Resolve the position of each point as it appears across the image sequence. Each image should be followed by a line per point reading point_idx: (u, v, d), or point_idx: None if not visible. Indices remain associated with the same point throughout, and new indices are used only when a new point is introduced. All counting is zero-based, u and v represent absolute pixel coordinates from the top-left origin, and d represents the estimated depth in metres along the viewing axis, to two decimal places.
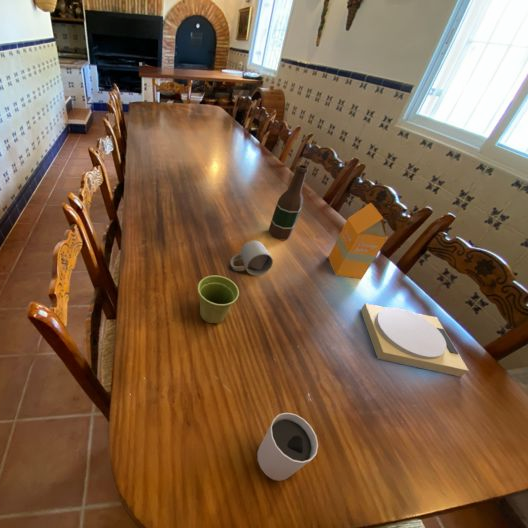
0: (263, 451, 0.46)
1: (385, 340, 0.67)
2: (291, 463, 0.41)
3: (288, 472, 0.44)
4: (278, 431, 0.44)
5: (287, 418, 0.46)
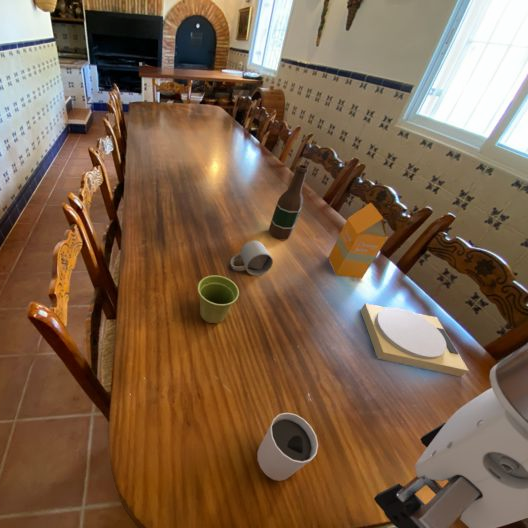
0: (263, 451, 0.46)
1: (385, 340, 0.67)
2: (291, 463, 0.41)
3: (288, 472, 0.44)
4: (278, 431, 0.44)
5: (287, 418, 0.46)
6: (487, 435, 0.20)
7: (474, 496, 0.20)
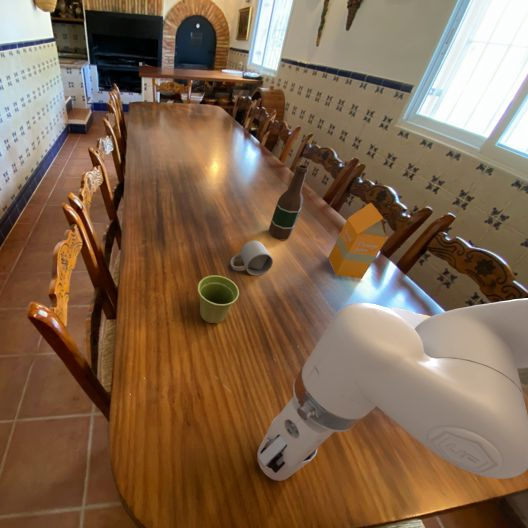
0: None
1: None
2: None
3: (288, 472, 0.44)
4: None
5: None
6: (285, 410, 0.36)
7: (283, 446, 0.37)
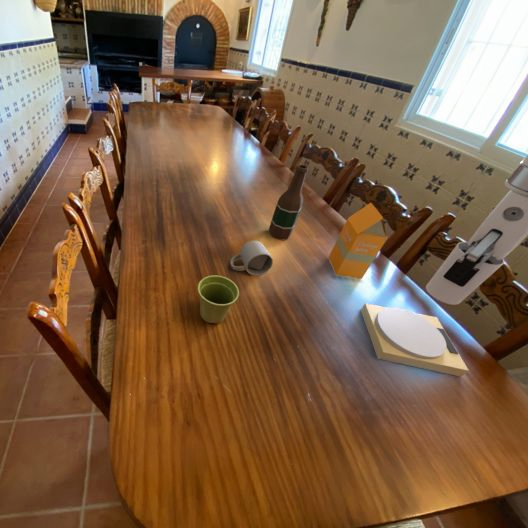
0: (442, 277, 0.54)
1: (385, 340, 0.67)
2: (484, 269, 0.49)
3: (472, 286, 0.52)
4: None
5: (463, 248, 0.54)
6: (504, 202, 0.44)
7: (496, 238, 0.45)
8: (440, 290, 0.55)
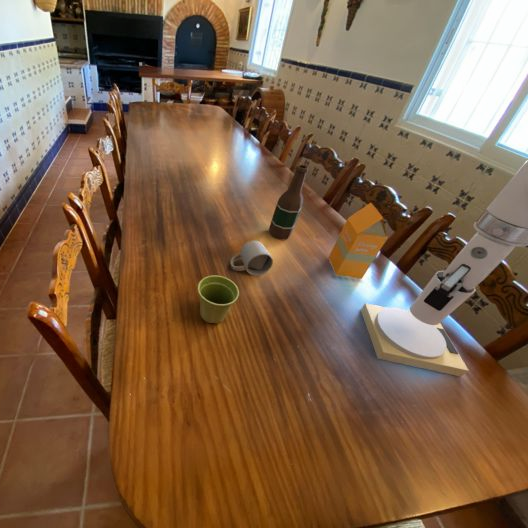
0: (423, 301, 0.62)
1: (385, 340, 0.67)
2: (458, 296, 0.57)
3: (448, 310, 0.59)
4: None
5: (442, 276, 0.62)
6: (471, 242, 0.51)
7: (465, 272, 0.53)
8: (421, 312, 0.63)
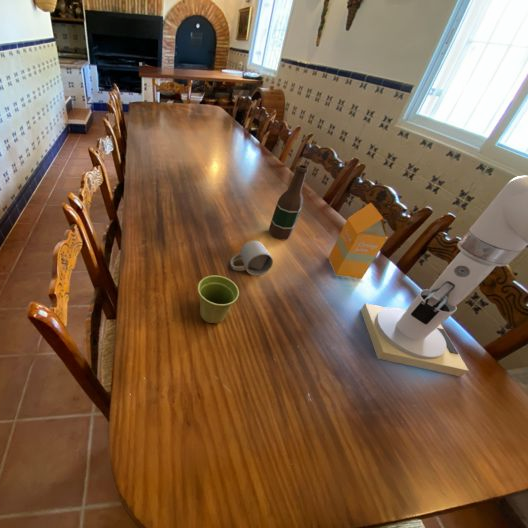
0: (408, 318, 0.65)
1: (385, 340, 0.67)
2: (439, 315, 0.60)
3: (431, 327, 0.63)
4: (423, 300, 0.64)
5: (426, 294, 0.65)
6: (455, 261, 0.54)
7: (451, 286, 0.55)
8: (407, 328, 0.66)
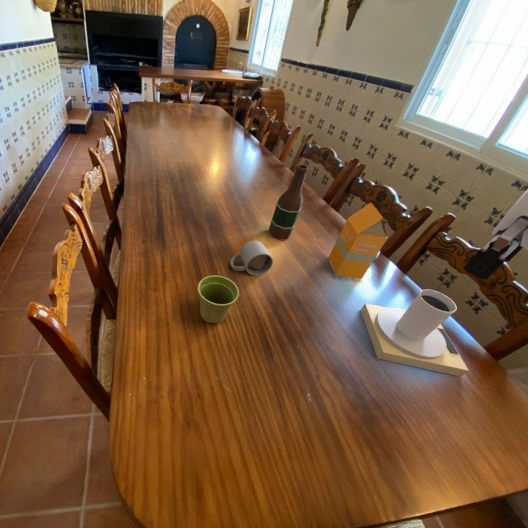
0: (408, 318, 0.65)
1: (385, 340, 0.67)
2: (439, 315, 0.60)
3: (431, 327, 0.63)
4: None
5: (426, 294, 0.65)
6: None
7: None
8: (407, 328, 0.66)
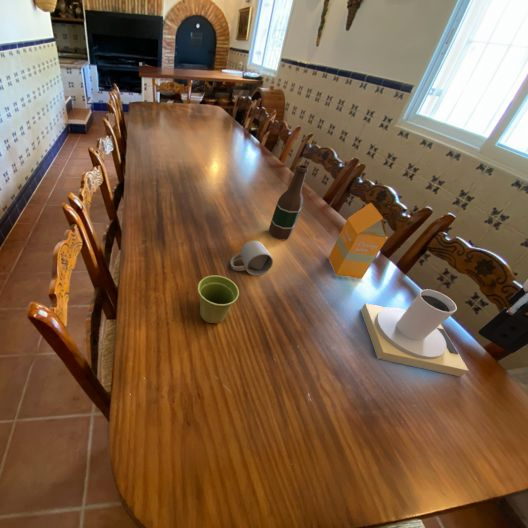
0: (408, 318, 0.65)
1: (385, 340, 0.67)
2: (439, 315, 0.60)
3: (431, 327, 0.63)
4: None
5: (426, 294, 0.65)
6: None
7: None
8: (407, 328, 0.66)
